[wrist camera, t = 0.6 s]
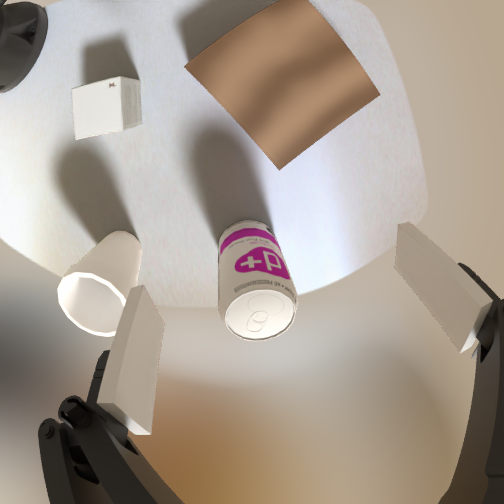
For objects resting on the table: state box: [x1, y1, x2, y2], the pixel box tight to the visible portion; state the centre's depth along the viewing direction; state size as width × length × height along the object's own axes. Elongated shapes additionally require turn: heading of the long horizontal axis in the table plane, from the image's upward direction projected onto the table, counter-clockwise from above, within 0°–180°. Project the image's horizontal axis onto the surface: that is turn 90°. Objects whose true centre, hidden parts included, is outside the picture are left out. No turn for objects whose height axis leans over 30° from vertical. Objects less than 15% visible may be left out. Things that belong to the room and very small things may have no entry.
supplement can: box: [218, 220, 298, 341], centre depth 33 cm, size 8×8×15 cm
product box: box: [71, 76, 142, 140], centre depth 25 cm, size 6×6×7 cm
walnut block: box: [184, 0, 380, 170], centre depth 26 cm, size 14×14×8 cm
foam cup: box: [57, 231, 143, 337], centre depth 33 cm, size 10×9×13 cm
